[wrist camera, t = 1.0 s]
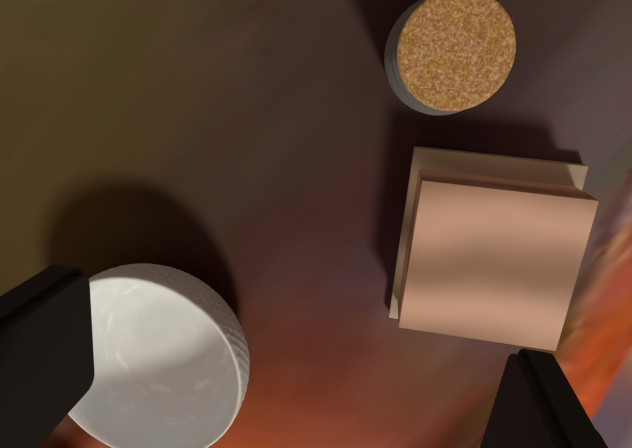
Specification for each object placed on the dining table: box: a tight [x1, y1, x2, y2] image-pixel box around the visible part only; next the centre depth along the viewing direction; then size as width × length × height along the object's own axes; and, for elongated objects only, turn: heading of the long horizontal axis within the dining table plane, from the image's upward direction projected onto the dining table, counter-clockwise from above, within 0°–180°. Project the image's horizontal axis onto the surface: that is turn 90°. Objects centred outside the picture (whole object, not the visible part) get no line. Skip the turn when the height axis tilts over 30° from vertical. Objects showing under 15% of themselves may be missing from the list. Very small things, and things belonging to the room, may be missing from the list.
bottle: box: [384, 0, 516, 115], centre depth 26 cm, size 6×6×15 cm
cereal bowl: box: [68, 263, 250, 448], centre depth 40 cm, size 17×17×7 cm
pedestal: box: [389, 146, 599, 351], centre depth 34 cm, size 14×12×5 cm
